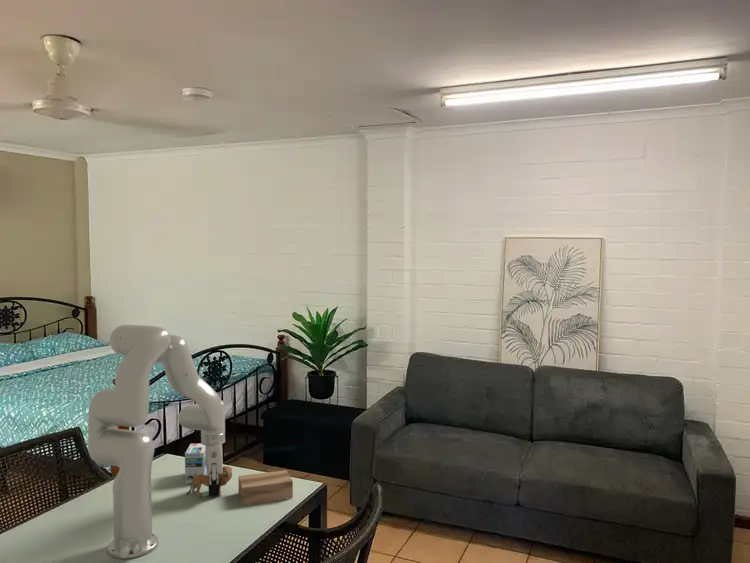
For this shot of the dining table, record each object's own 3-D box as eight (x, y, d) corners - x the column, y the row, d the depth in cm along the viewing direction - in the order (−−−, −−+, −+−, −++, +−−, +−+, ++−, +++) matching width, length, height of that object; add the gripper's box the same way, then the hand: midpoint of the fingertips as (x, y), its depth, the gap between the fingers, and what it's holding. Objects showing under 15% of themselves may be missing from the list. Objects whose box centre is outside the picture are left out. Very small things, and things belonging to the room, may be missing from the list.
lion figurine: (232, 489, 197) (232, 462, 197) (232, 495, 192) (232, 468, 192) (186, 493, 194) (186, 466, 193) (185, 499, 188) (184, 472, 188)
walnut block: (292, 499, 190) (292, 481, 190) (242, 506, 185) (242, 487, 184) (286, 487, 200) (286, 470, 199) (238, 493, 194) (238, 476, 194)
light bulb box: (204, 483, 202) (204, 452, 201) (184, 484, 201) (184, 453, 201) (209, 471, 213) (209, 442, 212) (190, 472, 212) (190, 443, 211)
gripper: (226, 445, 185) (226, 501, 186) (223, 429, 201) (224, 481, 202) (201, 447, 183) (202, 504, 184) (200, 431, 199) (201, 484, 200)
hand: (213, 492), depth 193 cm, fingers closed on lion figurine, 4 cm apart
